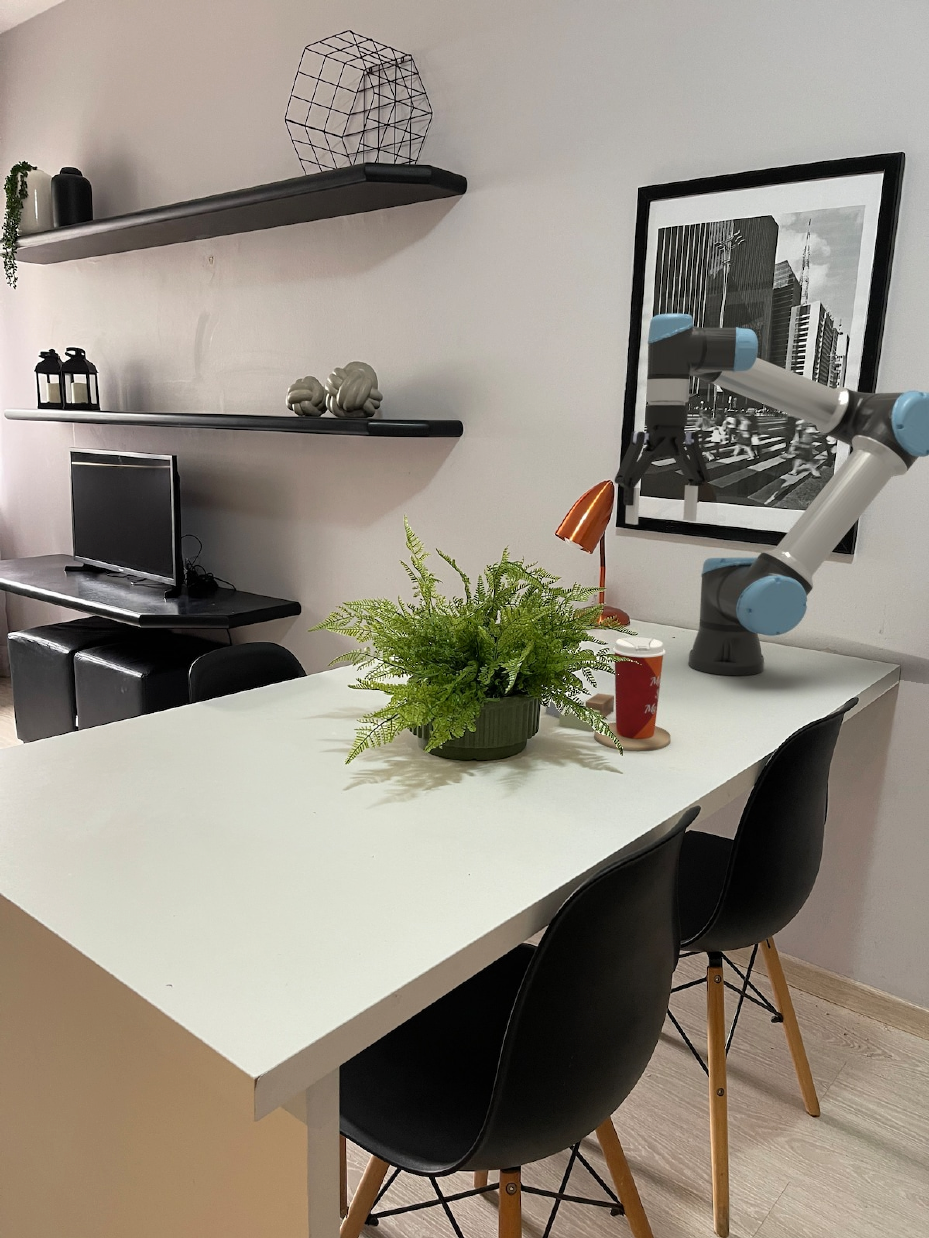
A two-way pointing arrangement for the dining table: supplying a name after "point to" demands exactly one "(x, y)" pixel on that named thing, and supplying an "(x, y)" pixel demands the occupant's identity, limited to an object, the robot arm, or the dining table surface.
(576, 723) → the olive block
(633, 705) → the coffee cup
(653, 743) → the disc
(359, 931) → the dining table surface
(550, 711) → the slate block
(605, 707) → the walnut block
